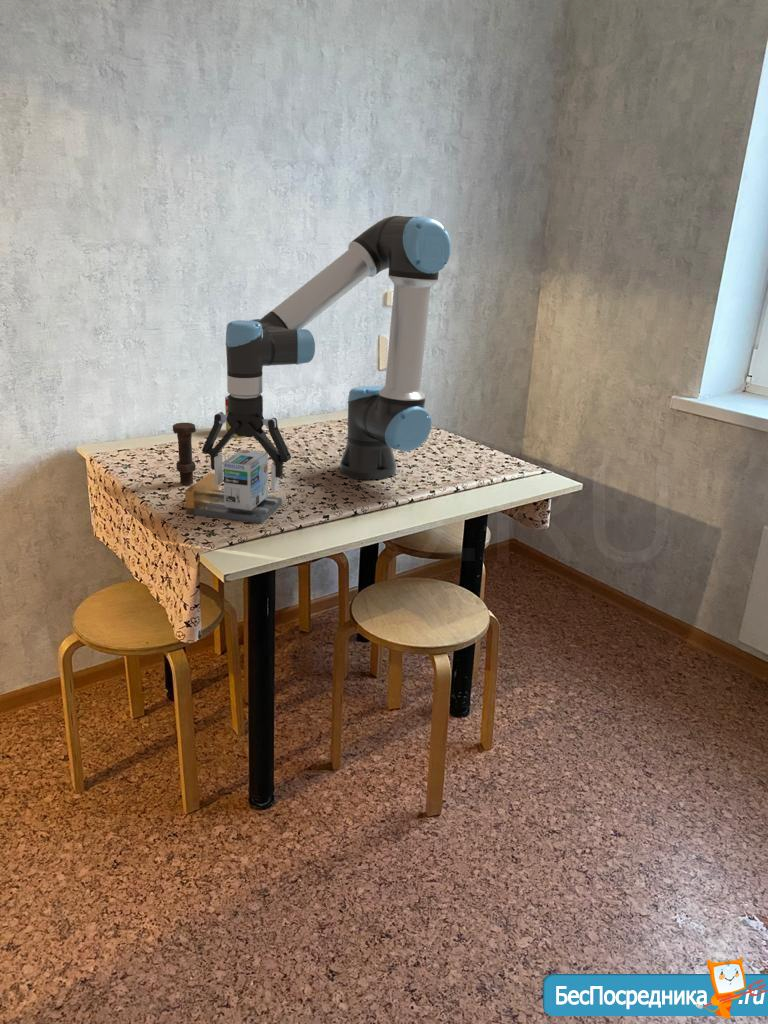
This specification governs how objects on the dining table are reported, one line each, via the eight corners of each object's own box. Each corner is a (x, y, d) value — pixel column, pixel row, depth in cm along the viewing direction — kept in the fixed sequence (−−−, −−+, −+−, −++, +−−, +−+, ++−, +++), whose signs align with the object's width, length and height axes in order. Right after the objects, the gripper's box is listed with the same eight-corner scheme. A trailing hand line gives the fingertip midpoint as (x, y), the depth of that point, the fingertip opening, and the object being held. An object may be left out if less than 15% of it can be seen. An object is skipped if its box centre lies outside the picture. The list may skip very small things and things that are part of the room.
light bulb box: (251, 511, 171) (250, 465, 167) (223, 507, 172) (221, 461, 168) (269, 495, 180) (268, 451, 177) (242, 492, 182) (241, 448, 178)
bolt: (183, 488, 188) (180, 429, 183) (170, 483, 191) (167, 425, 186) (202, 483, 193) (200, 425, 187) (189, 478, 196) (187, 421, 190)
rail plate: (281, 504, 182) (281, 482, 180) (261, 523, 170) (261, 500, 168) (210, 495, 185) (210, 473, 183) (186, 513, 173) (185, 490, 171)
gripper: (305, 396, 168) (304, 488, 176) (199, 385, 173) (203, 475, 181) (294, 403, 161) (293, 498, 169) (184, 392, 166) (188, 485, 174)
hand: (246, 486), depth 175 cm, fingers open, 13 cm apart
